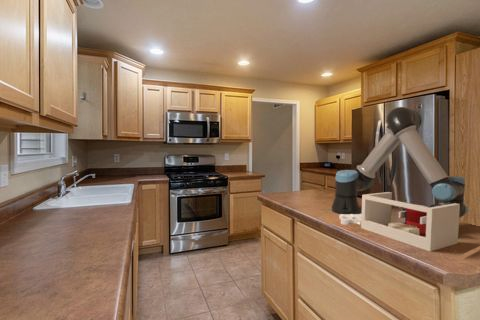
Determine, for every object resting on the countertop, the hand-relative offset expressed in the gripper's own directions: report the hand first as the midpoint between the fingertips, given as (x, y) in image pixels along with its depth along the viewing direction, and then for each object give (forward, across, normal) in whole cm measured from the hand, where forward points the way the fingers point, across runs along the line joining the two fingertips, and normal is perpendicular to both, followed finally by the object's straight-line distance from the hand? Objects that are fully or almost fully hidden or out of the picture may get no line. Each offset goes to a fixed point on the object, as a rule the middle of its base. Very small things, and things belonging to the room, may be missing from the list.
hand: (409, 217), depth 105 cm
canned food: (-5, 0, -7) cm, 8 cm away
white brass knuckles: (+2, +23, -9) cm, 25 cm away
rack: (+1, 0, -8) cm, 8 cm away
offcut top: (+4, 0, -5) cm, 6 cm away
